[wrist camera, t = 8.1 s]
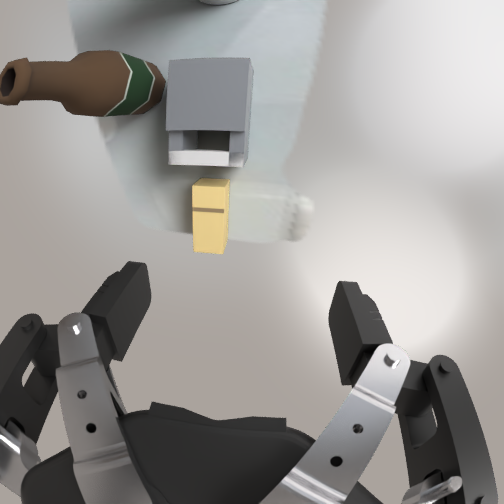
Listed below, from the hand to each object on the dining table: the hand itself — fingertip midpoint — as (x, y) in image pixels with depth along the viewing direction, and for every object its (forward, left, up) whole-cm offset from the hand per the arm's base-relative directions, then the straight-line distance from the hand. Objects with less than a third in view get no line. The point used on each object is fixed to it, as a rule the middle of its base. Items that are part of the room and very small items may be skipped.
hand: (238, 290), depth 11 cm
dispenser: (-7, -6, -27) cm, 29 cm away
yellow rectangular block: (+6, -6, -27) cm, 29 cm away
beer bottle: (-11, -17, -28) cm, 34 cm away
